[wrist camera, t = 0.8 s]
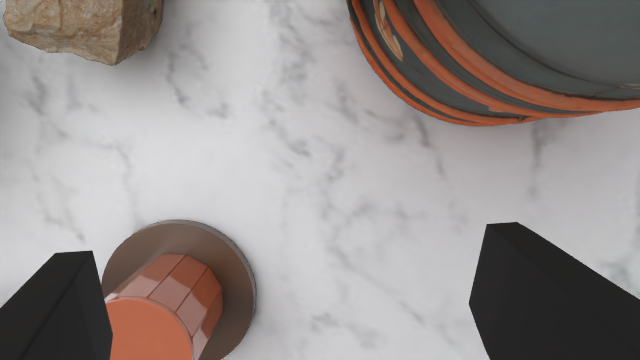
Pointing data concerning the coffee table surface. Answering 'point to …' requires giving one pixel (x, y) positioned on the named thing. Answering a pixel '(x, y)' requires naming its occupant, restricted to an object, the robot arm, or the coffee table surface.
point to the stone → (85, 26)
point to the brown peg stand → (205, 249)
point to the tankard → (504, 56)
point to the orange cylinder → (164, 310)
